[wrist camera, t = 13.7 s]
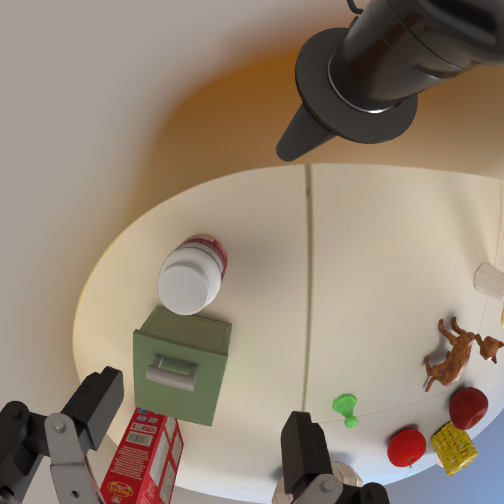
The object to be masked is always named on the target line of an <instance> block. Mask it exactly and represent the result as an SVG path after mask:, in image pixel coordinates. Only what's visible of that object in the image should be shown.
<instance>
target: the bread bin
mask: <svg viewBox="0 0 504 504" xmlns="http://www.w3.org/2000/svg"><path fill="white" fill-rule="evenodd" d="M231 328H232V324H228V323H224V322H219V321H215V320H210V319H206V318H202V317H197V316H193V315H179V314H176V313H174V312H172V311H170V310H169V309H165V308H162V307H158V306H157V307H156V308H155V309H154V310H153V312H152V313H151V315H150V316H149V317H148V319H147V320H146V321H145V323H144V324H143V325H142V327H141V328H140V331H143V332H147V333H150V334H154V335H157V336H161V337H164V338H168V339H172V340H175V341H179V342H183V343H187V344H191V345H195V346H200V347H204V348H208V349H213V350H217V351H222V352H227V353H228V348H229V341H230V334H231Z"/></svg>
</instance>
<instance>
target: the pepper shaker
mask: <svg viewBox="0 0 504 504" xmlns="http://www.w3.org/2000/svg"><path fill="white" fill-rule="evenodd" d="M474 284H475V288H476V291H478V292H480V293H483V294H485V295H488V296H490V297H492V298H495V299H497V300H499V301H502V302H504V273H503V272H501V271H500V270H498V269H497V268H495V267H494V266H492V265H491V264H486V263H483V264H482V265H481V266H480V268H479V269H478V270H477V272H476V276H475V280H474Z"/></svg>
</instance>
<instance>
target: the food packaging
mask: <svg viewBox="0 0 504 504" xmlns="http://www.w3.org/2000/svg"><path fill="white" fill-rule="evenodd" d="M183 446H184V444H183V441H182V437H181V434H180V430H179V426H178V423H177V419H176V418H172V417H168V416H165V415H161V414H158V413H154V412H151V411H148V410H145V409H142V408H139V407H136V409H135V412H134V414H133V416H132V418H131V420H130V422H129V424H128V427H127V429H126V431H125V433H124V435H123V438H122V440H121V442H120V444H119V446H118V449H117V451H116V453H115V456H114V458H113V460H112V462H111V464H110V467H109V469H108V471H107V474H106V476H105V478H104V481H103V483H102V485H101V488H100V492H101V494H102V496H103V498H104V501H105V503H106V504H129V503H131V504H170V501H171V496H172V492H173V488H174V483H175V479H176V475H177V471H178V467H179V462H180V458H181V454H182V450H183Z"/></svg>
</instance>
